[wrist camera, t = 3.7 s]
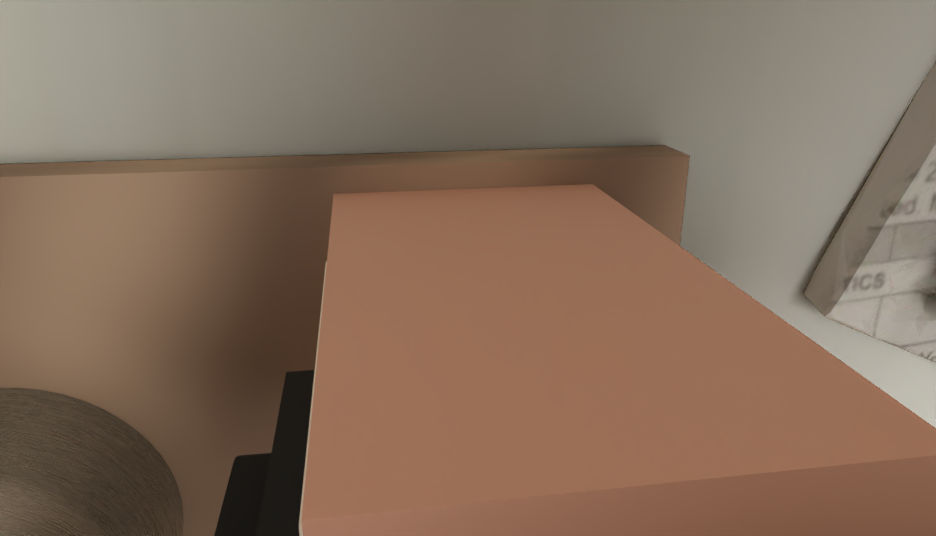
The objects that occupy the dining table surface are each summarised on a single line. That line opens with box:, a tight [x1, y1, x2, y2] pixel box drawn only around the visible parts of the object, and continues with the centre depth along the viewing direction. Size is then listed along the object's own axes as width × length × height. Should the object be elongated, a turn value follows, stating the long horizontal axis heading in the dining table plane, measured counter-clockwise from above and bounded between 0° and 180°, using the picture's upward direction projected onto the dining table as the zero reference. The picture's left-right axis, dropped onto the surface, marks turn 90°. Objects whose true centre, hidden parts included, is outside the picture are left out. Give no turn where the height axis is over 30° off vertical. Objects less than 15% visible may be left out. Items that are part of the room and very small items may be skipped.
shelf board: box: [0, 145, 690, 536], centre depth 14 cm, size 17×12×4 cm
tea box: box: [299, 184, 936, 536], centre depth 10 cm, size 7×5×9 cm
